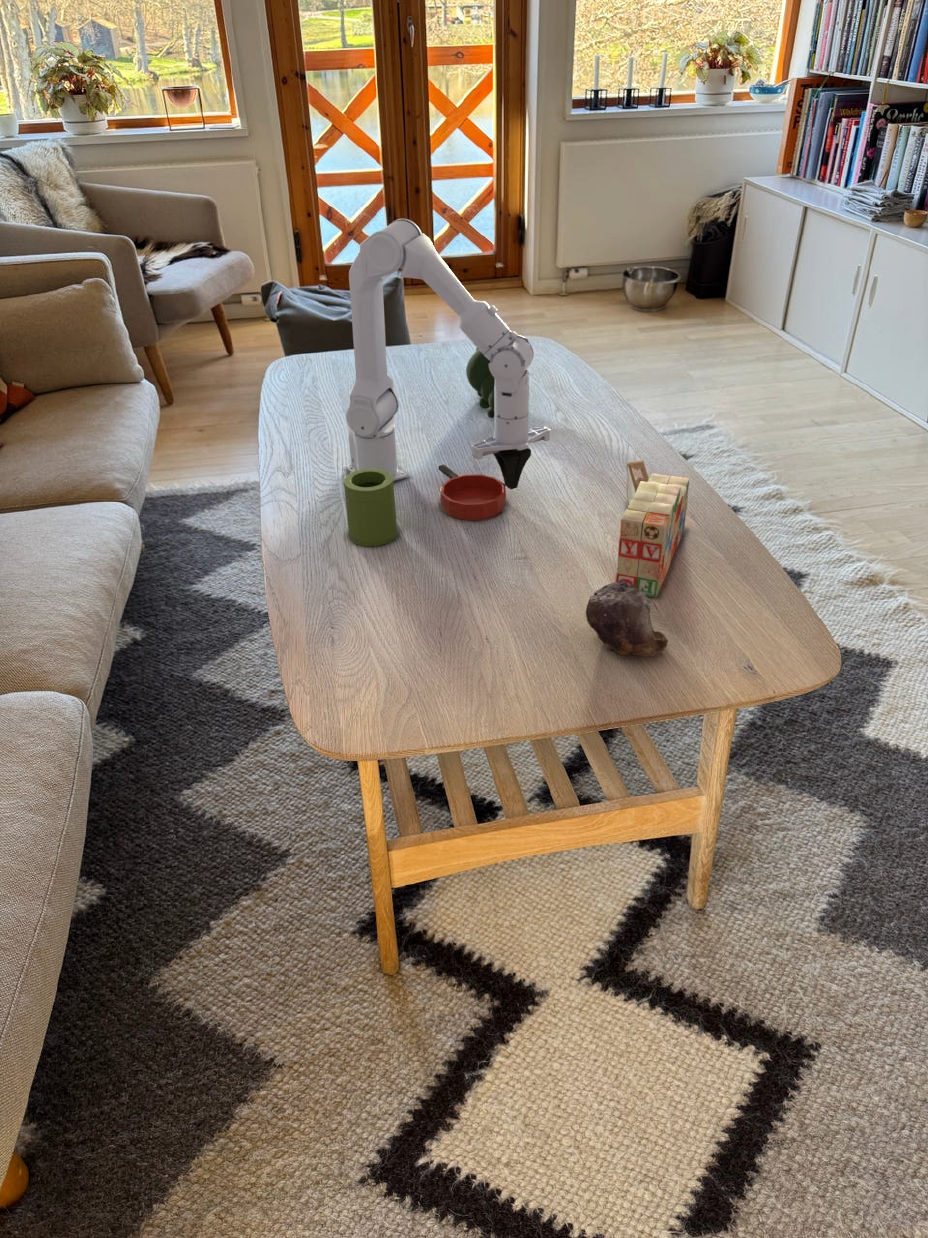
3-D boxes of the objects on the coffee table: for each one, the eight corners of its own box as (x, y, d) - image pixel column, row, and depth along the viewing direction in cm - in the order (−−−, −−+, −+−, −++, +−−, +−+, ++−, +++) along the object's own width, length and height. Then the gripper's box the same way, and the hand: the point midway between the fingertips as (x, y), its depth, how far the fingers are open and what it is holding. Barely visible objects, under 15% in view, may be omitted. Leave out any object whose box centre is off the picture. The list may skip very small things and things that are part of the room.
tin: (653, 540, 151) (657, 493, 146) (633, 541, 151) (637, 494, 146) (640, 496, 163) (644, 451, 158) (622, 496, 163) (625, 452, 158)
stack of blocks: (646, 523, 155) (653, 454, 148) (684, 529, 154) (693, 460, 146) (614, 590, 139) (620, 517, 132) (656, 598, 137) (665, 524, 130)
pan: (517, 509, 160) (517, 493, 159) (461, 526, 156) (461, 510, 154) (468, 471, 172) (467, 456, 171) (414, 486, 168) (413, 471, 166)
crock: (341, 530, 156) (335, 475, 150) (384, 518, 159) (379, 464, 153) (361, 551, 150) (356, 495, 144) (405, 538, 153) (401, 482, 148)
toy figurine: (538, 434, 189) (497, 380, 207) (543, 344, 176) (499, 295, 195) (493, 441, 186) (456, 386, 205) (496, 351, 174) (456, 301, 192)
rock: (636, 623, 134) (570, 635, 132) (638, 568, 131) (571, 579, 128) (676, 660, 124) (606, 673, 122) (679, 601, 121) (607, 614, 118)
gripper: (486, 430, 151) (487, 506, 159) (561, 411, 156) (558, 484, 164) (464, 416, 156) (466, 489, 164) (537, 397, 161) (536, 469, 169)
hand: (511, 486), depth 164 cm, fingers closed
